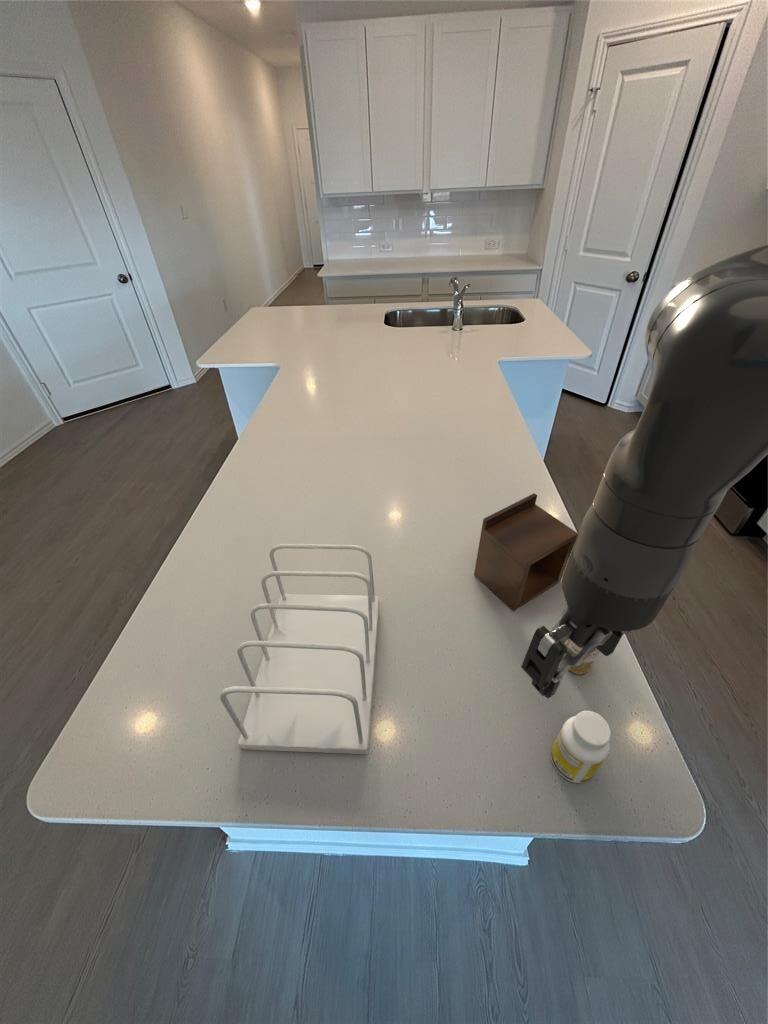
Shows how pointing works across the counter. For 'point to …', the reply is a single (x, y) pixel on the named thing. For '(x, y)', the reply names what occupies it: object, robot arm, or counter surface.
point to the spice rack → (522, 552)
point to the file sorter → (312, 668)
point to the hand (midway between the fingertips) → (572, 667)
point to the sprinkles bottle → (587, 663)
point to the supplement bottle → (581, 746)
